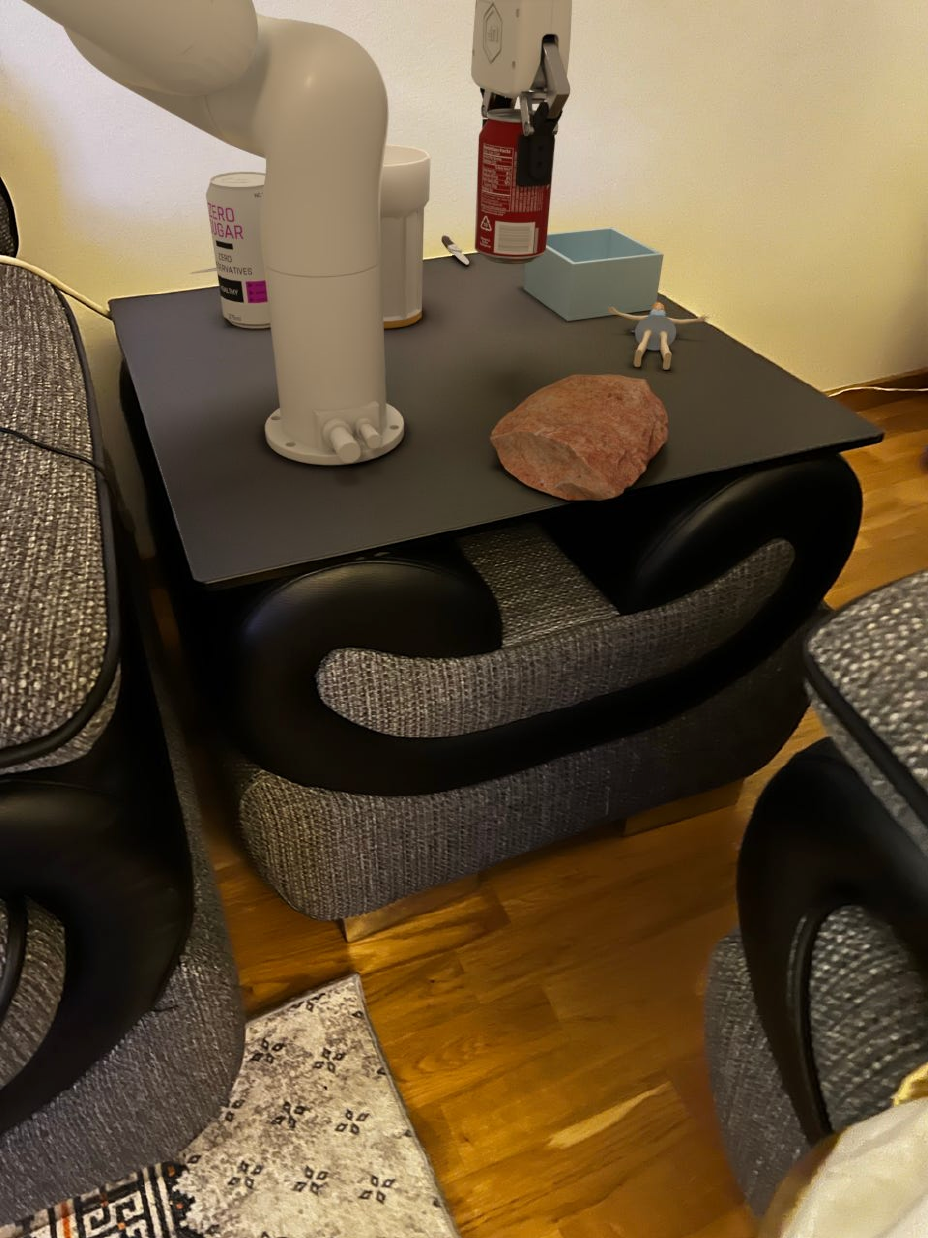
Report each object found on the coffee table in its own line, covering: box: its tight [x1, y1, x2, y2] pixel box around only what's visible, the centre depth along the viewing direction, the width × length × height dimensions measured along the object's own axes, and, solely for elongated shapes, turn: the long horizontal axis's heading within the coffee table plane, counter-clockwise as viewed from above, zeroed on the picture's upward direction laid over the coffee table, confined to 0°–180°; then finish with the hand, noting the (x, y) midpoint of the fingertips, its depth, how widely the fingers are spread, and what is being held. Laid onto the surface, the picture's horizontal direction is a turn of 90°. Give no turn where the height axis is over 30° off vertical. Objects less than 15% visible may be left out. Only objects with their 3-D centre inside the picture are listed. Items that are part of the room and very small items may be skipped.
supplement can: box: [205, 171, 271, 329], centre depth 101 cm, size 8×8×15 cm
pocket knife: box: [440, 234, 470, 266], centre depth 127 cm, size 14×1×2 cm
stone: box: [489, 373, 669, 502], centre depth 80 cm, size 14×6×20 cm
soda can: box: [474, 108, 556, 265], centre depth 82 cm, size 7×7×12 cm
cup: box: [380, 143, 431, 330], centre depth 102 cm, size 11×11×17 cm
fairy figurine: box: [607, 301, 710, 371], centre depth 100 cm, size 12×5×12 cm
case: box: [523, 226, 665, 322], centre depth 111 cm, size 12×12×7 cm
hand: (514, 174), depth 81 cm, fingers closed on soda can, 6 cm apart
